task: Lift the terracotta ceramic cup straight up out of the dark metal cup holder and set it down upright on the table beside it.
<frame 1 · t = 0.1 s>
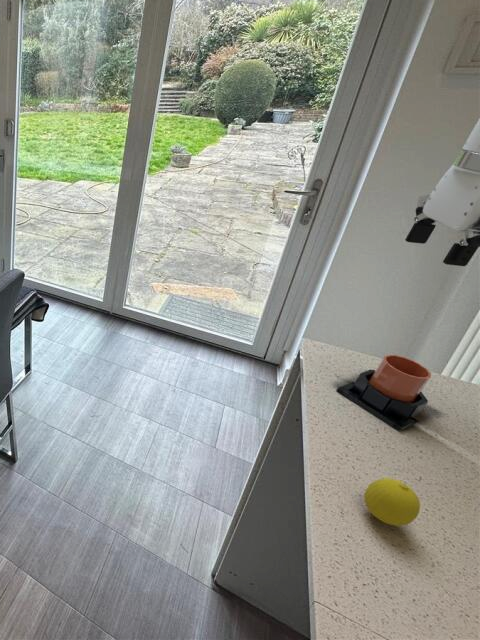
hand: (433, 252, 77), 31 cm above the countertop, tool pointing down, fingers open, 9 cm apart
cup: (394, 385, 82), in the cup holder
lemon: (377, 518, 63), on the countertop
cup holder: (382, 403, 84), on the countertop
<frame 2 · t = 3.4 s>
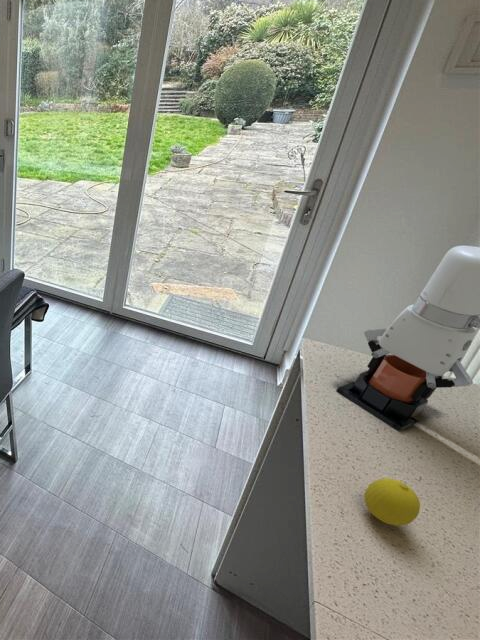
hand: (394, 384, 82), 5 cm above the countertop, tool pointing down, fingers closed on cup, 6 cm apart
cup: (394, 385, 82), in the cup holder, touching gripper
everything else where it was.
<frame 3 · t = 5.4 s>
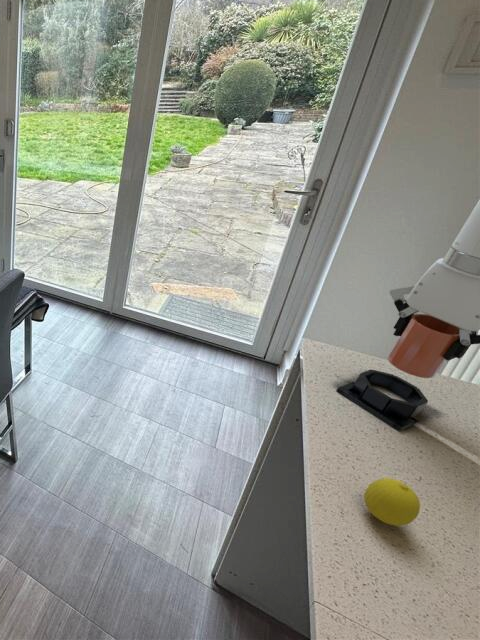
hand: (423, 345, 77), 15 cm above the countertop, tool pointing down, fingers closed on cup, 6 cm apart
cup: (423, 345, 77), point 15 cm above the countertop, touching gripper
everything else where it was.
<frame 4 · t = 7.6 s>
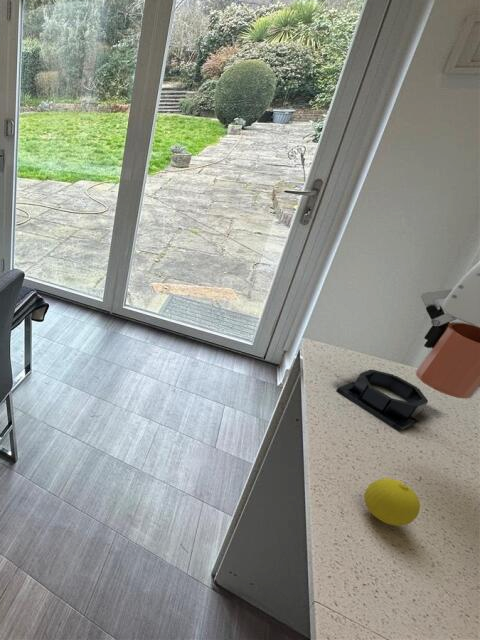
hand: (461, 359, 65), 21 cm above the countertop, tool pointing down, fingers closed on cup, 6 cm apart
cup: (460, 360, 65), point 21 cm above the countertop, touching gripper
everything else where it was.
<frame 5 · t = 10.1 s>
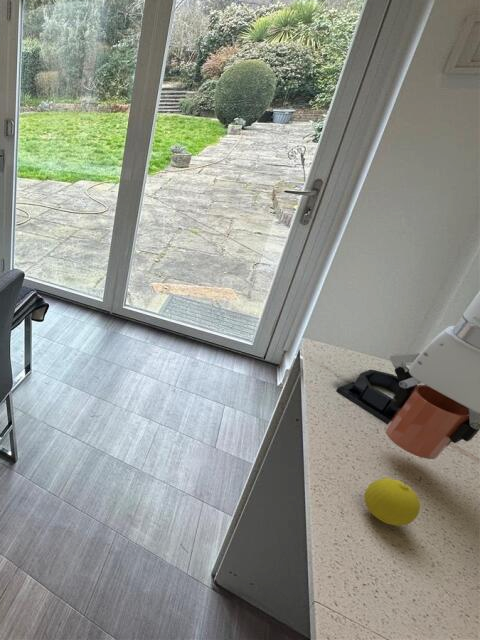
hand: (427, 420, 68), 10 cm above the countertop, tool pointing down, fingers closed on cup, 6 cm apart
cup: (426, 421, 68), point 10 cm above the countertop, touching gripper
everything else where it was.
when the fingers open (5 cm above the countertop, at t = 11.8 s): cup stays where it is, on the countertop.
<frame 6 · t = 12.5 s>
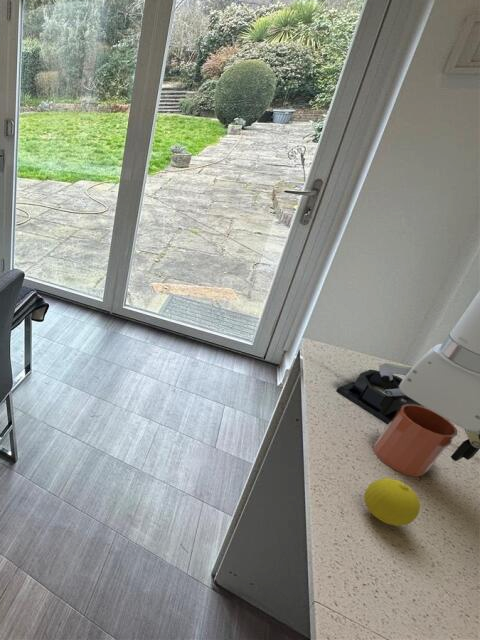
hand: (419, 433, 70), 7 cm above the countertop, tool pointing down, fingers open, 9 cm apart
cup: (412, 440, 70), on the countertop
everything else where it was.
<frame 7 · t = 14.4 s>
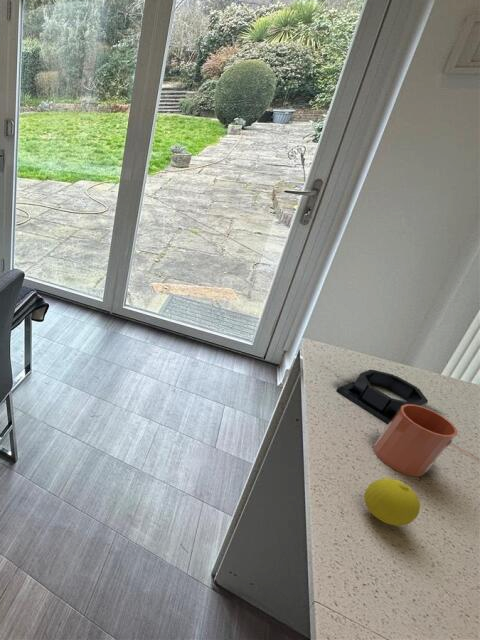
nothing on the countertop moved.
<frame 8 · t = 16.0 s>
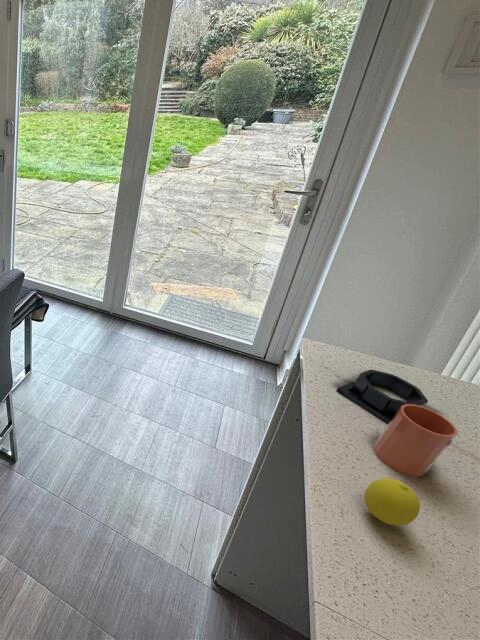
nothing on the countertop moved.
at the end: cup inside the target area (0.2 cm from its centre), on the countertop; cup tilted 0°; the gripper is holding nothing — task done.
